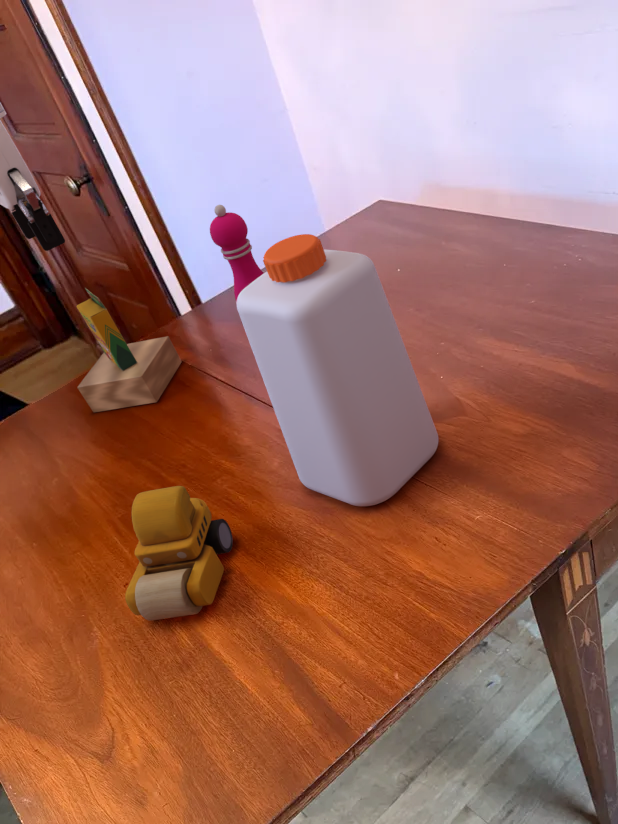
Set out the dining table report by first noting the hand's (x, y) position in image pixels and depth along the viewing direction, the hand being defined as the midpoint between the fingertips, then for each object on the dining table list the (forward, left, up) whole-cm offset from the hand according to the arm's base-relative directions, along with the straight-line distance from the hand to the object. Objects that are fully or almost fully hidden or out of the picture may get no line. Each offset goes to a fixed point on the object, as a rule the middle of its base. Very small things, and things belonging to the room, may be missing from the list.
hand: (46, 240), depth 108 cm
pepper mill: (+20, +16, -26) cm, 36 cm away
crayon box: (+1, 0, -21) cm, 21 cm away
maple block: (+1, 0, -26) cm, 26 cm away
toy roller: (+28, -46, -26) cm, 59 cm away
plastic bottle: (+47, -29, -26) cm, 61 cm away
